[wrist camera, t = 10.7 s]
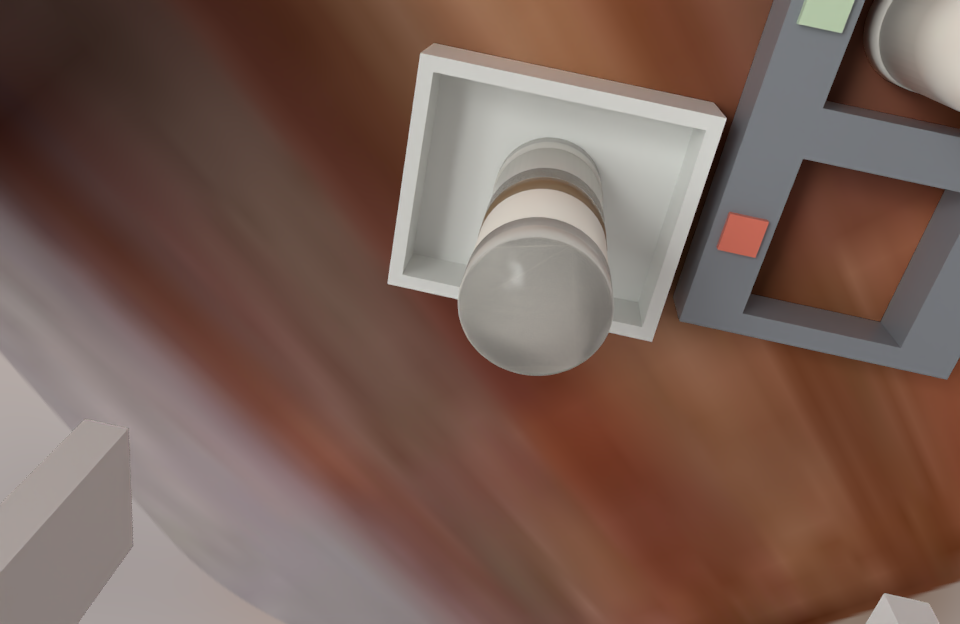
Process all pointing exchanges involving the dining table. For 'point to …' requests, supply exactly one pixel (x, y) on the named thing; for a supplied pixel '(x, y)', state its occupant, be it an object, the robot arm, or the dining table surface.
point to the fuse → (916, 46)
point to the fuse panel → (768, 181)
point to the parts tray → (559, 114)
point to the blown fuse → (540, 263)
